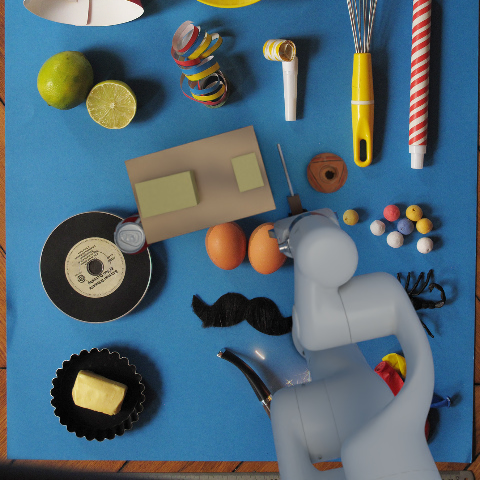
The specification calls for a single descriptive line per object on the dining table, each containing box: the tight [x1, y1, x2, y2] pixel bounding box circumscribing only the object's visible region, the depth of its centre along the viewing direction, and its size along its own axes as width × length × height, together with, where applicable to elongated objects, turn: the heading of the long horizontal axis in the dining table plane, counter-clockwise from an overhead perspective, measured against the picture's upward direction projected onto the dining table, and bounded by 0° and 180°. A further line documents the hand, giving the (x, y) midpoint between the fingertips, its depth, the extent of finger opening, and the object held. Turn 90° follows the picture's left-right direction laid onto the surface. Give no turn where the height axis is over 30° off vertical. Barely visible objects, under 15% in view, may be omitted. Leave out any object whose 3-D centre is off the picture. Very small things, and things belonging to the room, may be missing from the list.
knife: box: [276, 143, 304, 216], centre depth 78 cm, size 19×2×3 cm, turn 16°
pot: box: [306, 152, 349, 194], centre depth 82 cm, size 8×8×7 cm
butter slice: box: [231, 152, 264, 192], centre depth 61 cm, size 5×2×4 cm
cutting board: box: [124, 124, 277, 245], centre depth 74 cm, size 13×20×23 cm, turn 106°
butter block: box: [135, 170, 200, 218], centre depth 61 cm, size 5×8×4 cm, turn 103°
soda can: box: [113, 212, 153, 256], centre depth 80 cm, size 7×7×12 cm
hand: (298, 218), depth 79 cm, fingers closed on knife, 2 cm apart
